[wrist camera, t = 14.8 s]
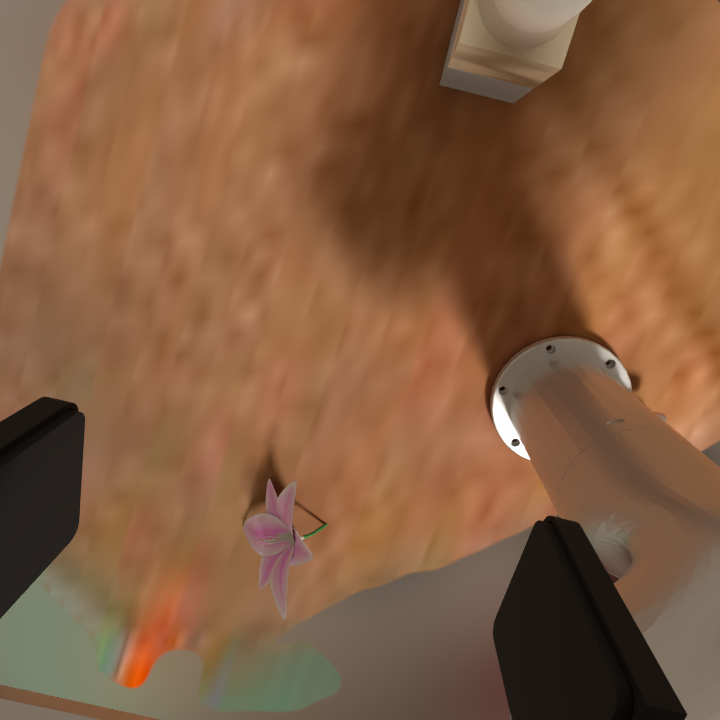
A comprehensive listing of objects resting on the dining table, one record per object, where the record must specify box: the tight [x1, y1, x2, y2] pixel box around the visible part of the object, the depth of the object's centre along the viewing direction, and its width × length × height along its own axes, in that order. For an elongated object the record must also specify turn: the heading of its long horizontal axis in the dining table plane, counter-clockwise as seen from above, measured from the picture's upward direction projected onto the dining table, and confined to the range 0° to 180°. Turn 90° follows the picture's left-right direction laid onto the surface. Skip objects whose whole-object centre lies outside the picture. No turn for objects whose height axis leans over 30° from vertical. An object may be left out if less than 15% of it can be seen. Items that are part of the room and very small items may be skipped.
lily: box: [243, 478, 327, 620], centre depth 50 cm, size 12×12×10 cm
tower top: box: [448, 0, 580, 89], centre depth 30 cm, size 6×6×6 cm
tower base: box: [439, 0, 533, 103], centre depth 36 cm, size 6×6×6 cm
